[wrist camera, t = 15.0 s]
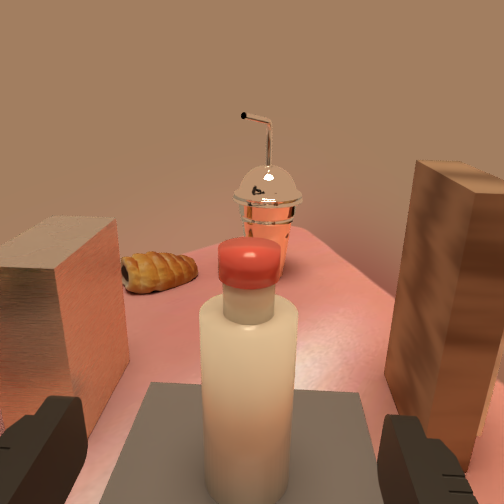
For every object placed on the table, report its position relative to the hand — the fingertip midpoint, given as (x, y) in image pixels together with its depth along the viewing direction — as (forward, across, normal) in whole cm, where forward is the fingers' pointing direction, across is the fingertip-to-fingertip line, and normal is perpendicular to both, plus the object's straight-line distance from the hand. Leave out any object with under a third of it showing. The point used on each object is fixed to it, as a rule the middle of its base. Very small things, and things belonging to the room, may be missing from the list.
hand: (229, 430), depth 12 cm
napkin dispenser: (+18, +14, +15) cm, 27 cm away
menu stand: (+17, -12, +14) cm, 26 cm away
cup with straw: (+43, 0, +15) cm, 45 cm away
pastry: (+39, +13, +15) cm, 44 cm away
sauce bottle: (+10, 0, +13) cm, 17 cm away
